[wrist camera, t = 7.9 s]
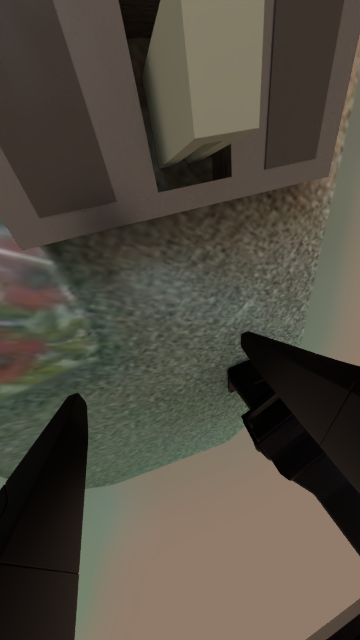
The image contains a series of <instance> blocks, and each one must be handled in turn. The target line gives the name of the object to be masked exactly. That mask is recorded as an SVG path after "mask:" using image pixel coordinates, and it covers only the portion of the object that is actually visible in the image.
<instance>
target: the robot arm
mask: <svg viewBox="0 0 360 640" xmlns="http://www.w3.org/2000/svg"><path fill="white" fill-rule="evenodd" d="M241 347H242V349H243V350H244V352H245V353H246V355H247V356H248V358H249V359H250V360H248V361H245V362H243V363H241V364H238V365H236V366H234V367H231V368H229V369H228V371H227V373H228V390H229V392H230V393H232V392H234V391H237V392H238V394H239V395H240V397H241V398H242V399H243V401H244V402H245V404H246V405H247V406H248V408H249V409H250V410H249V411H248V412H246V413H245V414H243V415H242V416H241V417H242V419H243V423H244V425H245V427H246V428H247V430H248V432H249V434H250V436H251V438H252V440H253V442H254V445H255V448H256V450H257V451H258V452H261V453H262V454H263V455H264V456H265V457H266V458H267V459H268V460H272V462H273V463H274V465H275V466H276V468H277V469H278V471H279V472H280V474H281V475H283V476H284V477H285V478H287V479H288V480H290V481H291V480H292V481H294V482H296V483H297V484H299V485H300V486H302V487H303V488H305V489H307V490H308V491H309V492H311V493H313V494H314V495H315V496H316V498H317V499H318V500H319V502H320V503H321V504H322V506H323V507H324V508H325V510H326V511H327V512H328V514H329V515H330V517H331V518H332V519H333V521H334V522H335V523H336V525H337V526H338V527H339V528H340V530H341V531H342V533H343V534H344V535H345V537H346V538H347V539H348V541H349V542H350V544H351V545H352V546H353V548H354V549H355V550H356V552H357V553H358V554H359V556H360V366H356V365H352V364H349V363H345V362H342V361H338V360H335V359H332V358H329V357H325V356H322V355H319V354H315V353H313V352H310V351H307V350H304V349H301V348H298V347H295V346H292V345H289V344H286V343H283V342H279V341H276V340H273V339H270V338H267V337H264V336H261V335H258V334H255V333H252V332H249V331H248V332H245V333H242V334H241ZM87 451H88V418H87V404H86V402H85V401H84V399H83V398H82V397H81V396H80V394H79V393H75V394H72V395H70V396H68V397H67V399H66V400H65V401H64V403H63V404H62V405H61V407H60V408H59V410H58V411H57V412H56V414H55V415H54V416H53V418H52V419H51V421H50V422H49V423H48V425H47V426H46V427H45V429H44V430H43V432H42V433H41V434H40V436H39V437H38V439H37V440H36V441H35V443H34V444H33V445H32V447H31V448H30V450H29V451H28V452H27V454H26V455H25V456H24V458H23V459H22V461H21V462H20V463H19V465H18V466H17V467H16V469H15V470H14V472H13V473H12V474H11V476H10V477H9V478H8V480H7V481H6V484H5V485H4V486H3V487H2V488H1V489H0V640H74V637H75V624H76V623H75V622H76V610H77V595H78V579H79V574H78V573H79V565H80V550H81V536H82V521H83V506H84V492H85V479H86V465H87ZM306 640H360V599H359V600H357V601H356V602H355V603H354V604H352V605H351V606H350V607H348V608H347V609H346V610H344V611H343V612H342V613H340V614H339V615H338V616H337V617H335V618H334V619H332V620H331V621H330V622H329V623H327V624H326V625H325V626H323V627H322V628H321V629H319V630H318V631H317V632H316V633H314V634H313V635H311V636H310V637H309V638H308V639H306Z"/></svg>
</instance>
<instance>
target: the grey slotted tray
mask: <svg viewBox="0 0 360 640" xmlns="http://www.w3.org/2000/svg"><path fill="white" fill-rule="evenodd" d="M159 4H160V0H0V218H1V219H2V221H3V222H4V224H5V225H6V227H7V228H8V230H9V231H10V233H11V234H12V236H13V237H14V239H15V241H16V242H17V244H18V245H19V247H20V248H21V250H25V249H29V248H34V247H38V246H42V245H46V244H50V243H54V242H58V241H63V240H67V239H71V238H75V237H79V236H83V235H88V234H92V233H96V232H100V231H104V230H108V229H112V228H117V227H121V226H125V225H129V224H133V223H137V222H142V221H146V220H150V219H154V218H158V217H162V216H167V215H171V214H175V213H179V212H183V211H187V210H191V209H196V208H200V207H204V206H208V205H212V204H216V203H221V202H225V201H229V200H233V199H237V198H241V197H245V196H250V195H254V194H258V193H262V192H266V191H270V190H275V189H279V188H283V187H287V186H291V185H295V184H300V183H304V182H308V181H312V180H316V179H320V178H324V177H328V176H329V171H330V167H331V162H332V157H333V153H334V148H335V144H336V139H337V135H338V130H339V126H340V121H341V116H342V112H343V107H344V103H345V98H346V94H347V89H348V85H349V80H350V75H351V71H352V66H353V62H354V57H355V53H356V48H357V44H358V39H359V35H360V0H265V3H264V26H263V49H262V71H261V94H260V117H259V128H258V129H256V130H254V131H253V132H251V133H249V134H247V135H245V136H244V137H242V138H240V139H238V140H236V141H235V142H233V143H231V144H229V145H228V146H226V147H224V148H222V149H220V150H219V151H217V152H215V153H213V154H212V165H213V181H210V182H206V183H201V184H196V185H192V186H187V187H182V188H178V189H173V190H169V191H164V192H159V193H158V189H157V184H156V180H155V175H154V170H153V165H152V160H151V155H150V151H149V146H148V141H147V136H146V131H145V126H144V121H143V117H142V112H141V107H140V102H139V97H138V92H137V88H136V83H135V78H134V73H133V68H132V63H131V59H130V54H129V49H128V44H127V39H126V38H130V37H147V36H152V33H153V29H154V25H155V20H156V16H157V12H158V8H159Z"/></svg>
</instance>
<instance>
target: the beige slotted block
mask: <svg viewBox="0 0 360 640" xmlns="http://www.w3.org/2000/svg"><path fill="white" fill-rule="evenodd" d="M264 3H265V0H160V4H159V8H158V12H157V16H156V20H155V25H154V29H153V33H152V37H151V41H150V45H149V49H148V53H147V57H146V62H145V66H144V70H143V74H142V82H143V87H144V92H145V98H146V103H147V108H148V113H149V118H150V124H151V129H152V134H153V139H154V144H155V150H156V155H157V160H158V165H159V169H162V168H167V167H172V166H174V165H176V164H177V163H178V162H180V161H181V160H183V159H184V158H185V157H186V164H188V163H193V162H198V161H201V160H203V159H204V158H206V157H208V156H210V155H212V154H213V153H215V152H217V151H219V150H220V149H222V148H224V147H226V146H228V145H229V144H231V143H233V142H235V141H236V140H238V139H240V138H242V137H244V136H245V135H247V134H249V133H251V132H253V131H254V130H256V129H258V128H259V117H260V94H261V71H262V49H263V26H264Z"/></svg>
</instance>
